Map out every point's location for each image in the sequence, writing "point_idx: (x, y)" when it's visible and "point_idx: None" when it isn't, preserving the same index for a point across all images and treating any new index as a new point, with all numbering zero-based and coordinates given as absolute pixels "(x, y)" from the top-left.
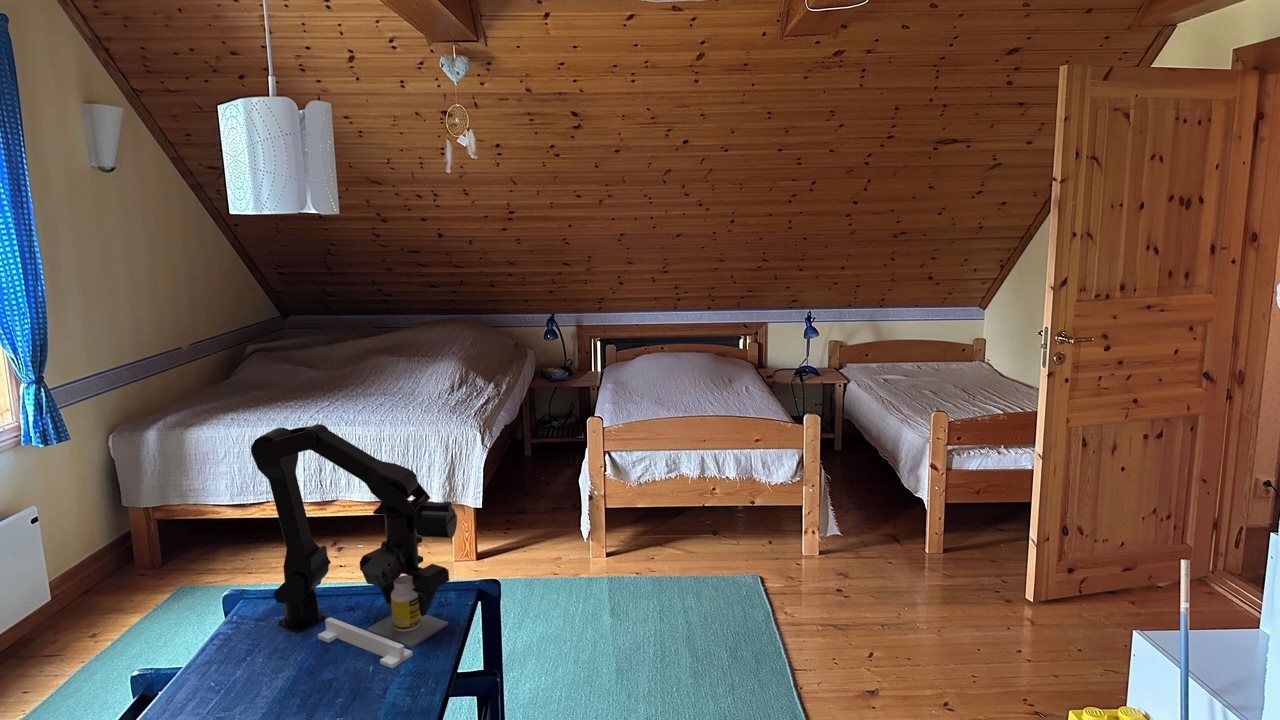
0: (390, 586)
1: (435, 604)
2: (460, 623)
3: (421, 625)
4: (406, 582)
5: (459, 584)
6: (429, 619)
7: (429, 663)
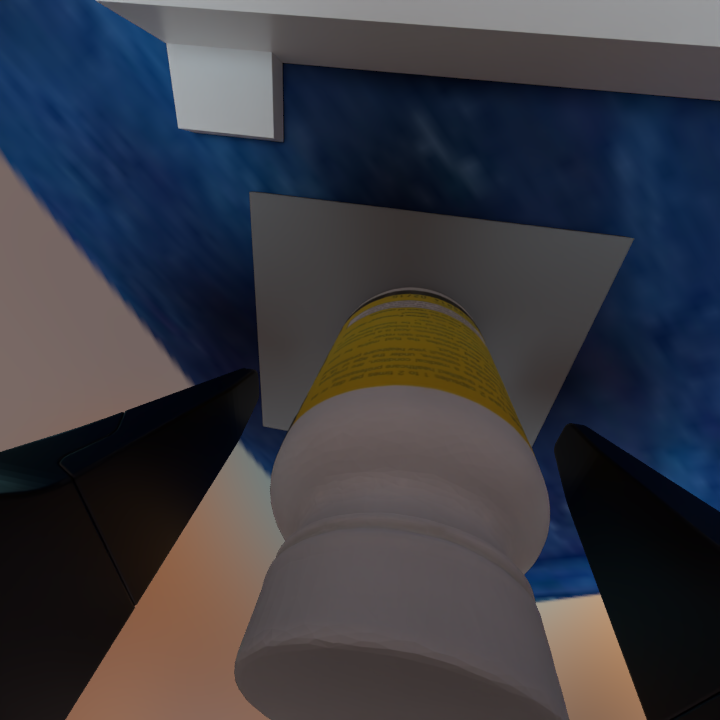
0: (632, 575)
1: None
2: None
3: None
4: (291, 678)
5: None
6: None
7: (62, 105)
